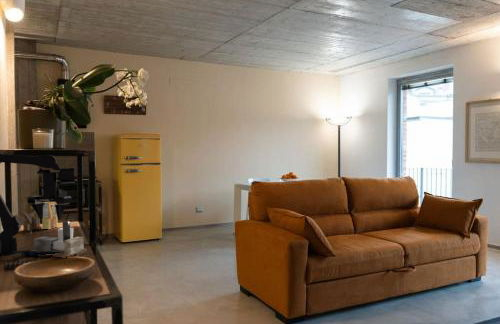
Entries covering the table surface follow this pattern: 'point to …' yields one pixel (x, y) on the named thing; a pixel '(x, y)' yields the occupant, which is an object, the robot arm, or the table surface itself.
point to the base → (70, 248)
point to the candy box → (49, 215)
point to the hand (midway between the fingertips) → (50, 219)
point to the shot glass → (60, 233)
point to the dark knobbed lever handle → (66, 235)
